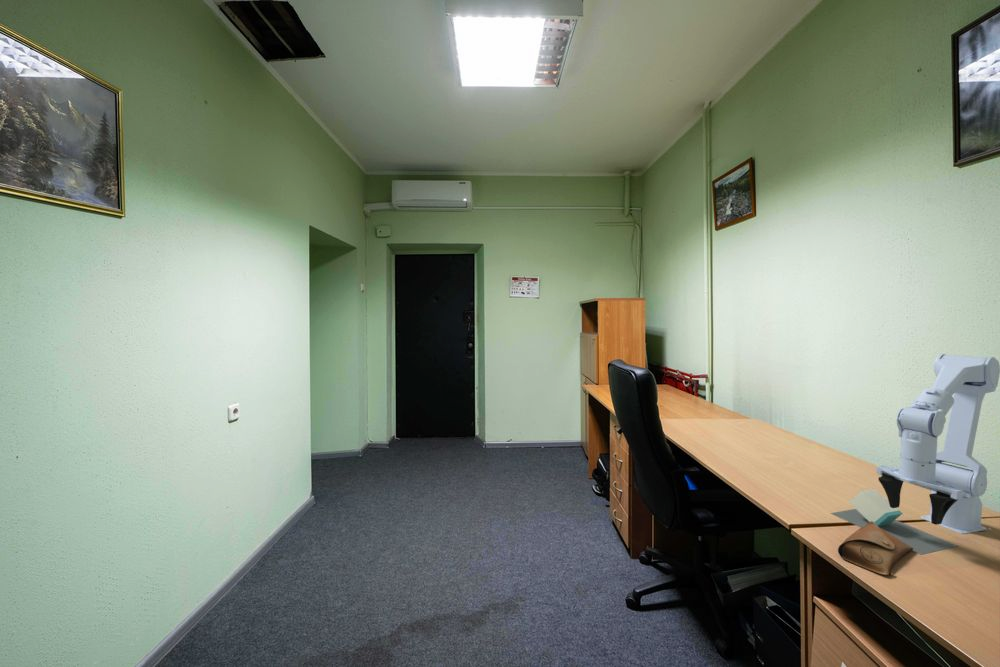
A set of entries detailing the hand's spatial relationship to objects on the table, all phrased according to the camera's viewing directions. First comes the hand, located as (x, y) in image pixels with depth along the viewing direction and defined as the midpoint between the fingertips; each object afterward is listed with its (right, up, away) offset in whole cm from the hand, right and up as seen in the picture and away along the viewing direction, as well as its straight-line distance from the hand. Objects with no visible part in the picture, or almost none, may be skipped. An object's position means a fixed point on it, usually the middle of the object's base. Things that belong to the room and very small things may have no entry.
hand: (914, 515), depth 91 cm
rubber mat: (-1, -6, +5) cm, 8 cm away
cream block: (-1, -4, +5) cm, 6 cm away
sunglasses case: (-14, -7, -5) cm, 16 cm away
